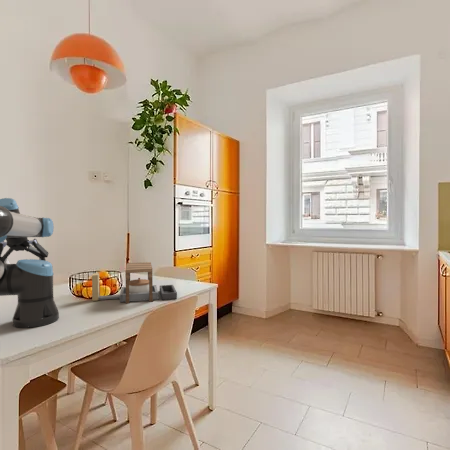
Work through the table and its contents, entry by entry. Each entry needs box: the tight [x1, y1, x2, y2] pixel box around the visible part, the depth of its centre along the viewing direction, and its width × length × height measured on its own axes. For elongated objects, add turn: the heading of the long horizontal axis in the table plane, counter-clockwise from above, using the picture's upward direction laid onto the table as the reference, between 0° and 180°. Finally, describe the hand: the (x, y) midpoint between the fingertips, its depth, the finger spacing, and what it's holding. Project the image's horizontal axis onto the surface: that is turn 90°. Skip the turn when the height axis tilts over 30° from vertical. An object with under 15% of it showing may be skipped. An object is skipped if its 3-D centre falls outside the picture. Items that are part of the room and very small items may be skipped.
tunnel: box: [124, 261, 154, 304], centre depth 154 cm, size 21×12×16 cm, turn 16°
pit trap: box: [159, 284, 178, 301], centre depth 158 cm, size 18×7×3 cm, turn 16°
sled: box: [91, 272, 159, 303], centre depth 152 cm, size 16×30×12 cm, turn 106°
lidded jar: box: [129, 277, 149, 294], centre depth 154 cm, size 11×11×9 cm
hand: (27, 269), depth 144 cm, fingers open, 13 cm apart
